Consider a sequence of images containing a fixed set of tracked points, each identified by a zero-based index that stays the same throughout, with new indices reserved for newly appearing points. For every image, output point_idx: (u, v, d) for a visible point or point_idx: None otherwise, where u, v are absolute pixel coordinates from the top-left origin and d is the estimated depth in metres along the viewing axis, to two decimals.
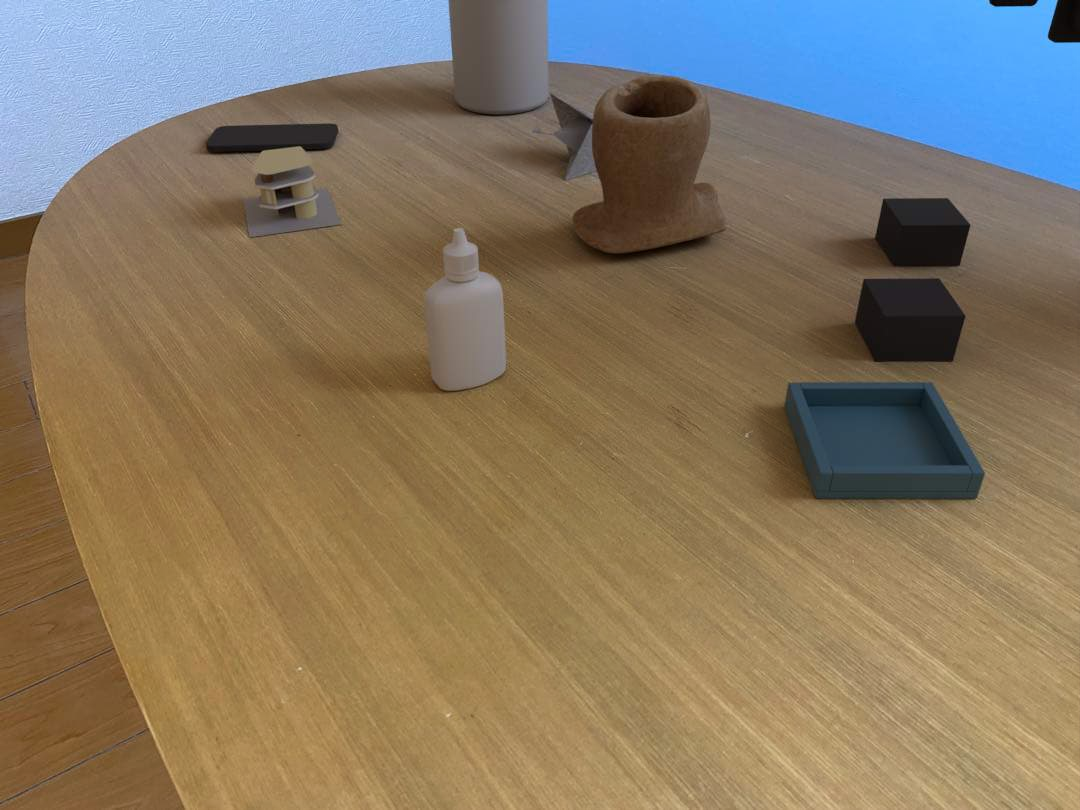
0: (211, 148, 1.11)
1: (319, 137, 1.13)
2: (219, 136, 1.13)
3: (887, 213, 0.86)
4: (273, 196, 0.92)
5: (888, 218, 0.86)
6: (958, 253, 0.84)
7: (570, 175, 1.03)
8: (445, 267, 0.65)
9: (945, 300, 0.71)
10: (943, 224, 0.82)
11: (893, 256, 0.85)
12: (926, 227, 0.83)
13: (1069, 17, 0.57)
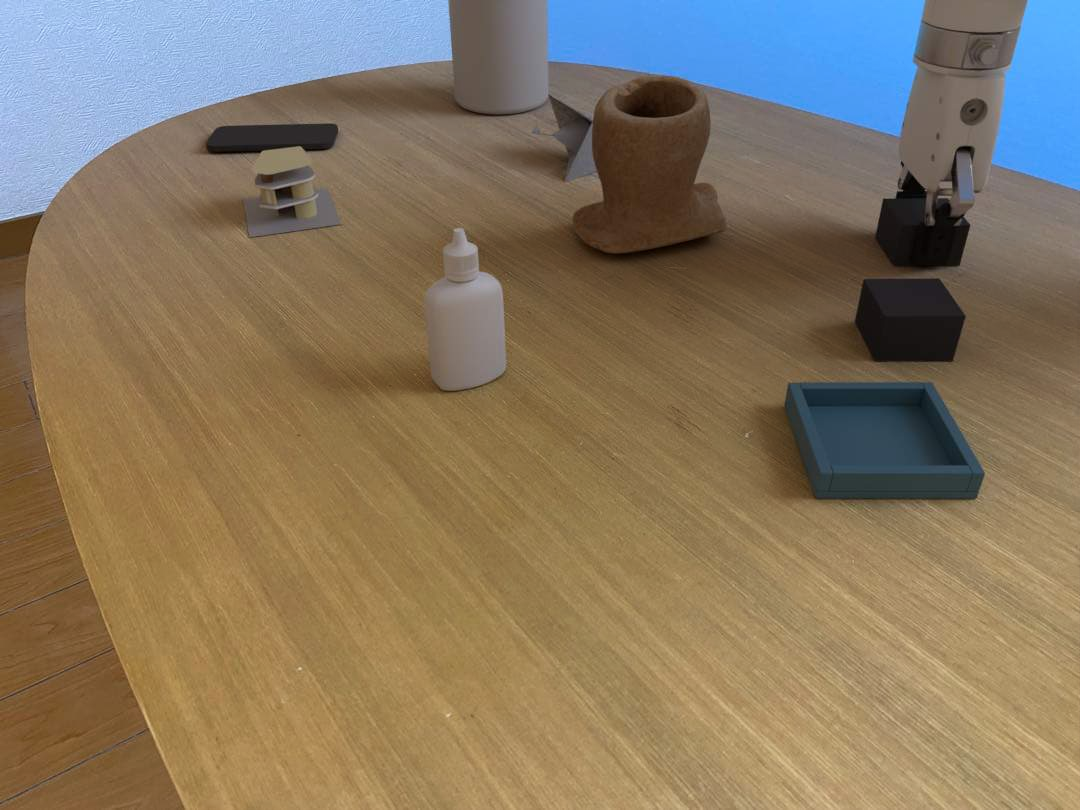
0: (211, 148, 1.11)
1: (319, 137, 1.13)
2: (219, 136, 1.13)
3: (887, 213, 0.86)
4: (273, 196, 0.92)
5: (888, 218, 0.86)
6: (958, 253, 0.84)
7: (569, 176, 1.03)
8: (445, 267, 0.65)
9: (945, 300, 0.71)
10: None
11: (893, 256, 0.85)
12: None
13: (924, 250, 0.83)
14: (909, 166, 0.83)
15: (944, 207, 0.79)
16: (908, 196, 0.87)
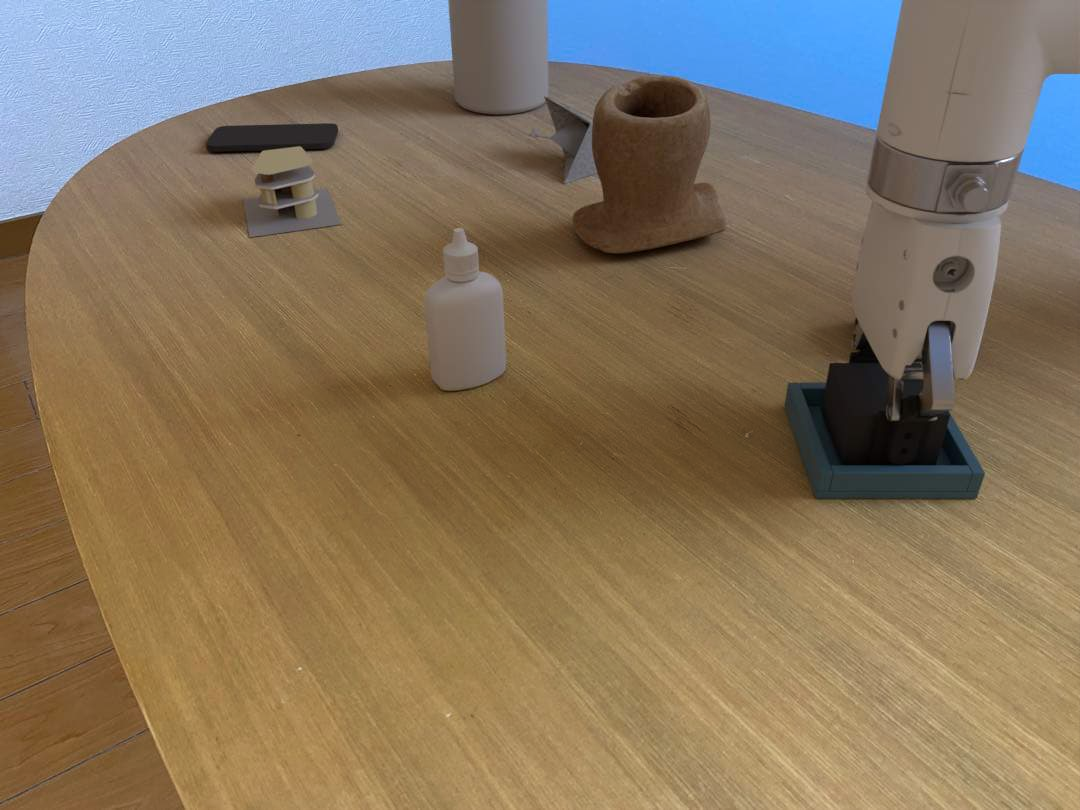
0: (211, 148, 1.11)
1: (319, 137, 1.13)
2: (219, 136, 1.13)
3: (834, 387, 0.61)
4: (273, 196, 0.92)
5: (836, 395, 0.61)
6: (934, 450, 0.59)
7: (568, 179, 1.02)
8: (445, 267, 0.65)
9: None
10: None
11: (841, 451, 0.60)
12: None
13: (885, 448, 0.58)
14: (864, 329, 0.58)
15: (912, 402, 0.54)
16: (866, 360, 0.62)
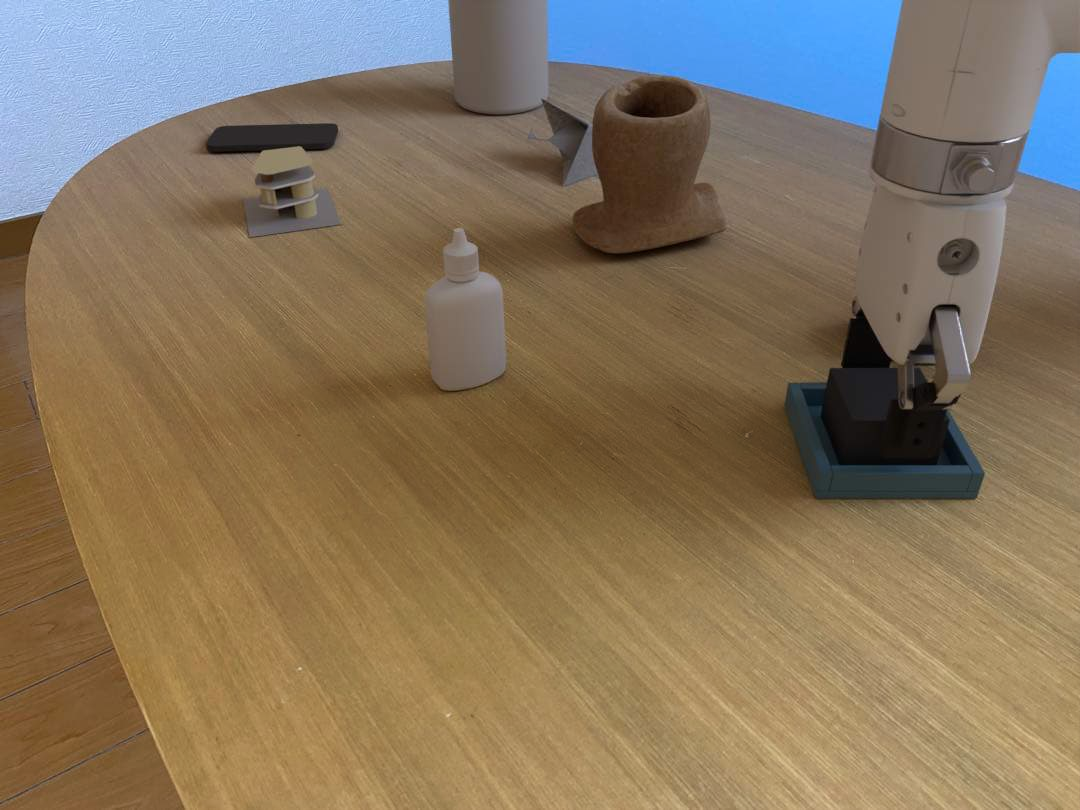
0: (211, 148, 1.11)
1: (319, 137, 1.13)
2: (219, 136, 1.13)
3: (834, 392, 0.62)
4: (273, 196, 0.92)
5: (836, 400, 0.61)
6: (933, 455, 0.59)
7: (568, 181, 1.02)
8: (445, 267, 0.65)
9: None
10: None
11: (841, 456, 0.60)
12: None
13: (898, 438, 0.56)
14: (868, 314, 0.58)
15: (926, 390, 0.52)
16: (866, 326, 0.63)
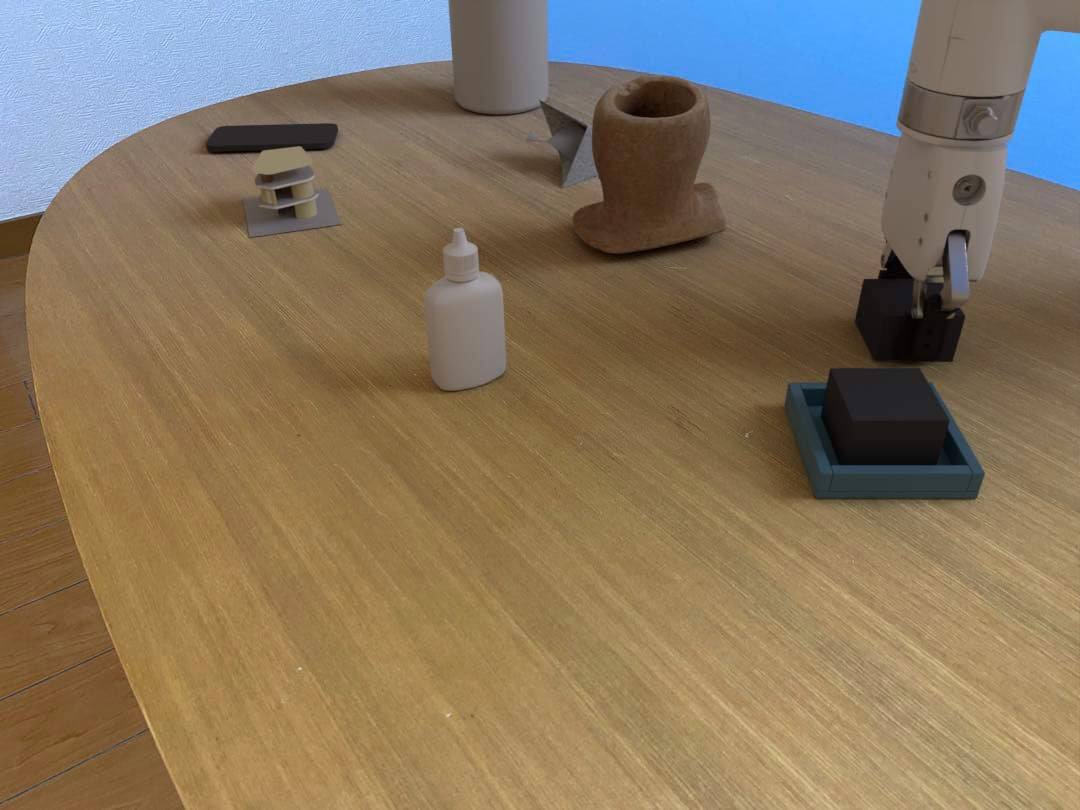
0: (211, 148, 1.11)
1: (319, 137, 1.13)
2: (219, 136, 1.13)
3: (834, 392, 0.62)
4: (273, 196, 0.92)
5: (836, 400, 0.61)
6: (933, 455, 0.59)
7: (567, 182, 1.01)
8: (445, 267, 0.65)
9: None
10: (911, 420, 0.58)
11: (841, 456, 0.60)
12: (887, 423, 0.58)
13: (910, 344, 0.70)
14: (893, 245, 0.70)
15: (934, 300, 0.66)
16: (893, 276, 0.74)
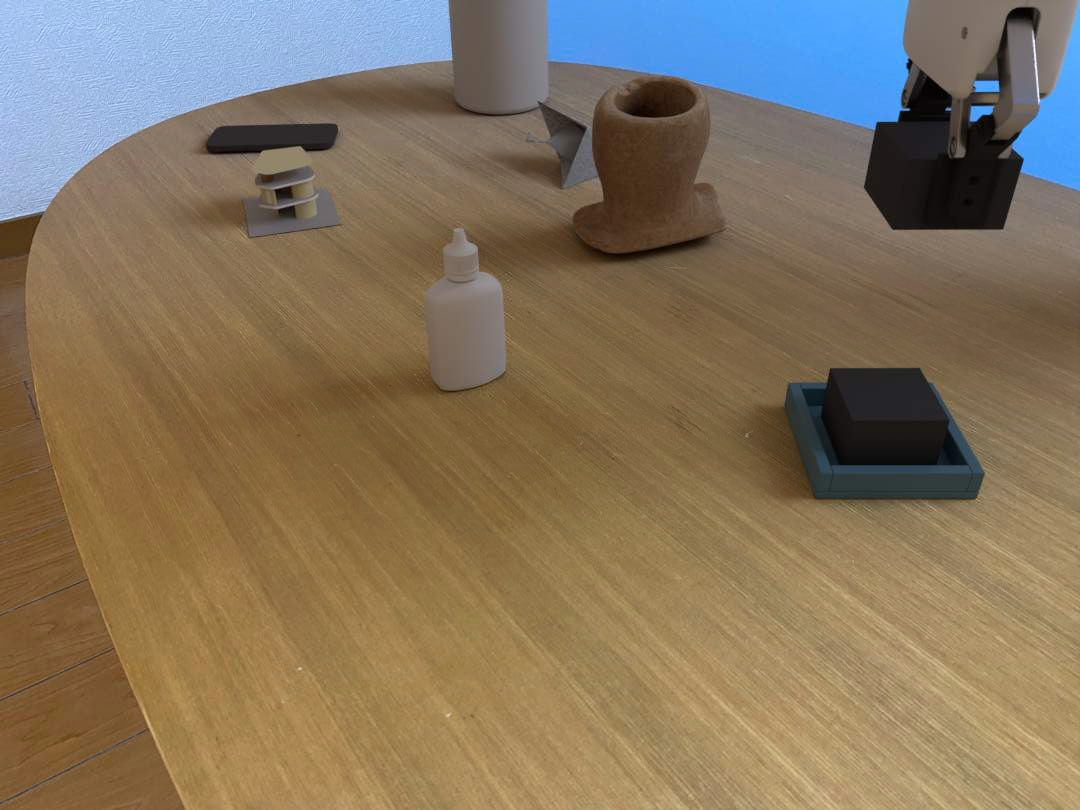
0: (211, 148, 1.11)
1: (319, 137, 1.13)
2: (219, 136, 1.13)
3: (834, 392, 0.62)
4: (273, 196, 0.92)
5: (836, 400, 0.61)
6: (933, 455, 0.59)
7: (567, 184, 1.01)
8: (445, 267, 0.65)
9: None
10: (911, 420, 0.58)
11: (841, 456, 0.60)
12: (887, 423, 0.58)
13: (945, 202, 0.49)
14: (921, 61, 0.49)
15: (984, 122, 0.45)
16: (918, 118, 0.53)
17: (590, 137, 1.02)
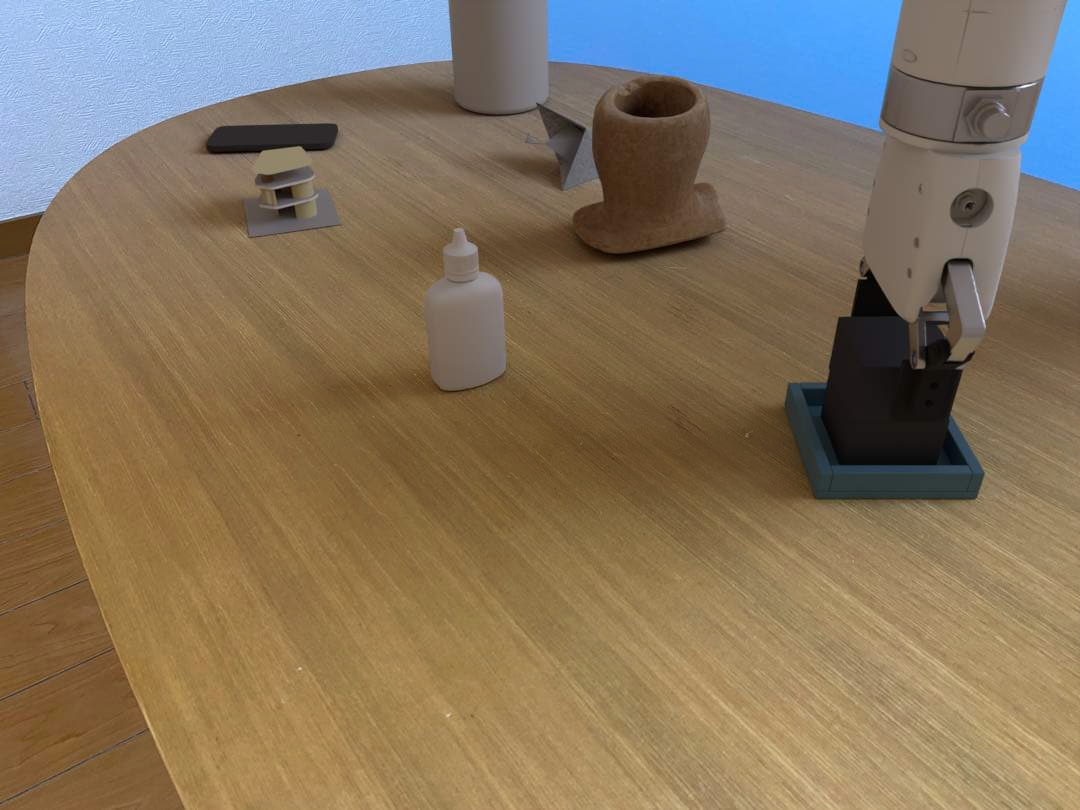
0: (211, 148, 1.11)
1: (319, 137, 1.13)
2: (219, 136, 1.13)
3: (834, 392, 0.62)
4: (273, 196, 0.92)
5: (836, 400, 0.61)
6: (933, 455, 0.59)
7: (567, 185, 1.01)
8: (445, 267, 0.65)
9: None
10: None
11: (841, 456, 0.60)
12: (887, 423, 0.58)
13: (909, 400, 0.54)
14: (877, 274, 0.56)
15: (940, 347, 0.50)
16: (874, 287, 0.61)
17: (589, 138, 1.02)
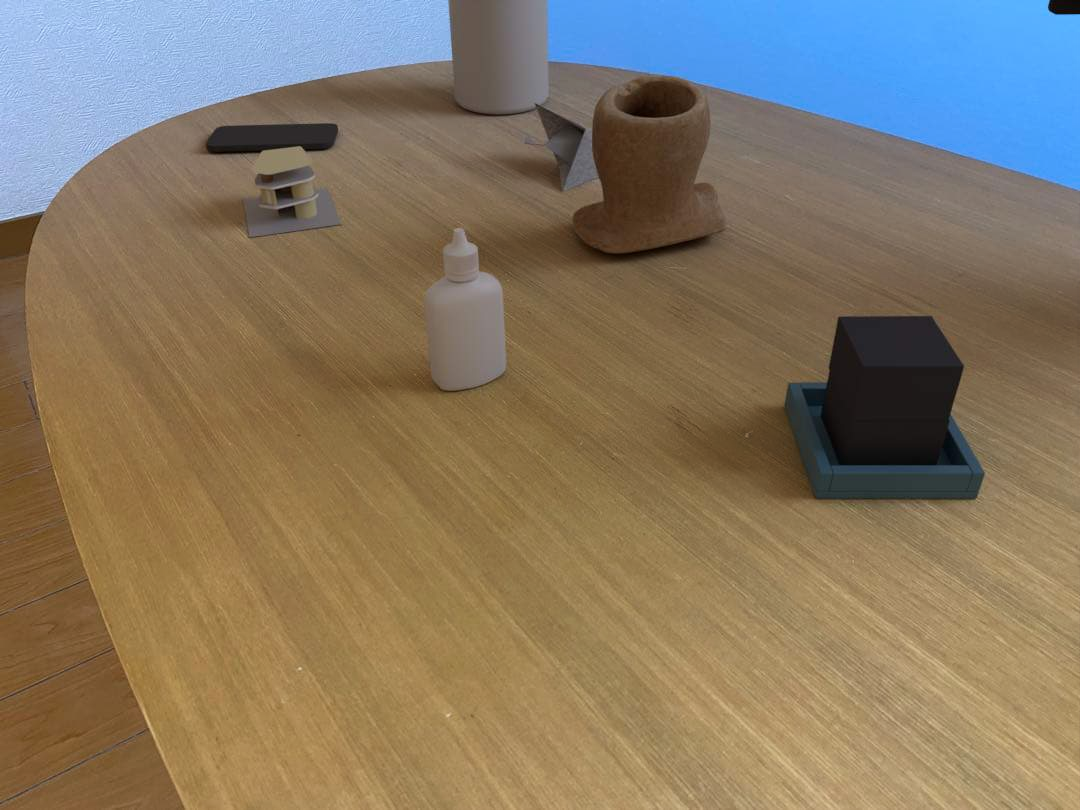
0: (211, 148, 1.11)
1: (319, 137, 1.13)
2: (219, 136, 1.13)
3: (834, 392, 0.62)
4: (273, 196, 0.92)
5: (836, 400, 0.61)
6: (933, 455, 0.59)
7: (567, 186, 1.00)
8: (445, 267, 0.65)
9: (939, 345, 0.57)
10: (911, 420, 0.58)
11: (841, 456, 0.60)
12: (887, 423, 0.58)
13: None
14: None
15: None
16: None
17: (589, 139, 1.02)
